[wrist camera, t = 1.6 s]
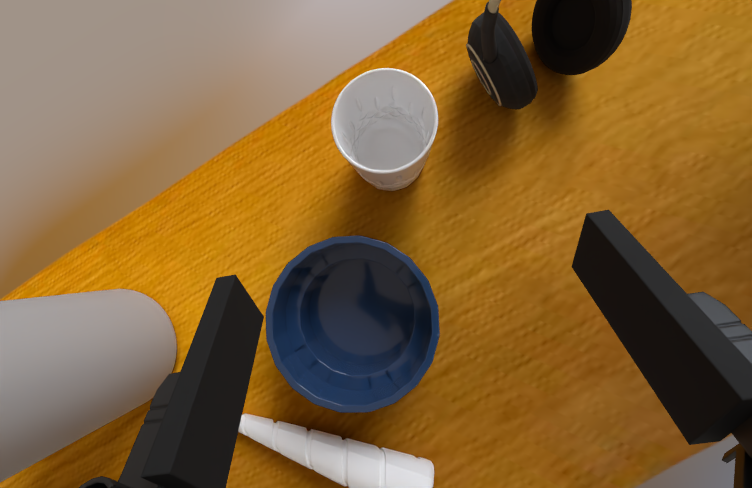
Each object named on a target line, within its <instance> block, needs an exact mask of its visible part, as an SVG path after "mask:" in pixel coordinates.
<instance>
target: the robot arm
mask: <svg viewBox="0 0 752 488" xmlns="http://www.w3.org/2000/svg"><path fill="white" fill-rule="evenodd" d="M572 268H573V269H574V271H575V273H576V274H577V276H578V277H579V279H580V280H581V282H582V283H583V285H584V286H585V288H586V289H587V291H588V292H589V294H590V295H591V297H592V298H593V300H594V301H595V303H596V304H597V306H598V307H599V309H600V310H601V312H602V313H603V315H604V316H605V318H606V319H607V321H608V322H609V324H610V325H611V327H612V328H613V330H614V332H615V333H616V335H617V336H618V338H619V339H620V341H621V342H622V344H623V345H624V347H625V348H626V350H627V351H628V353H629V354H630V356H631V357H632V359H633V360H634V362H635V363H636V365H637V366H638V368H639V369H640V371H641V372H642V374H643V375H644V377H645V378H646V380H647V381H648V383H649V384H650V386H651V387H652V389H653V390H654V392H655V394H656V395H657V397H658V398H659V400H660V401H661V403H662V404H663V406H664V407H665V409H666V410H667V412H668V413H669V415H670V416H671V418H672V419H673V421H674V422H675V424H676V425H677V427H678V428H679V430H680V431H681V433H682V434H683V436H684V437H685V439H686V440H687V442H688V443H689V445H692V444H700V443H708V442H717V441H721V440H722V439H723V438H725V437H726V436H727V435H729V434H730V433H732V434H733V435H734V437H735V438H736V439H737V441H738V442H739V444H738V445H736V446H735V447H733V448H732V449H730V450H729V451H727V452H726V453H725V454H724V456H723V459H722V461H724V462H726V463H728V462H730V461H731V460H733V459H734V458H736V459H735V474H734V488H752V331H751V330H750V329H749V328H748V327H747V326H746V325H745V324H742V323H741V320H740V319H739V318H738V317H737V316H736V315H735V314H734V313H733V312H732V311H731V310H730V309H729V308H728V307H727V306H726V305H725V304H723V303H721V302H720V301H718V300H716V299H715V298H713V297H711V296H710V295H708V294H706V293H705V292H698V293H692V294H686V292H685V291H684V290H683V289H682V288H681V287H680V286H679V285H678V284H677V283H676V282H675V281H674V280H673V278H672V277H671V276H670V275H669V274H668V273H667V272H666V271H665V270H664V269H663V268H662V267H661V266H660V265H659V263H658V262H657V261H656V260H655V259H654V258H653V257H652V256H651V255H650V254H649V253H648V252H647V251H646V249H645V248H644V247H643V246H642V245H641V244H640V243H639V242H638V241H637V240H636V239H635V238H634V237H633V235H632V234H631V233H630V232H629V231H628V230H627V229H626V228H625V227H624V226H623V225H622V224H621V223H620V221H619V220H618V219H617V218H616V217H615V216H614V215H613V214H612V213H611V212H610V211H609V210H605V211H599V212H593V213H588V214H586V217H585V220H584V224H583V228H582V231H581V235H580V238H579V242H578V246H577V249H576V253H575V257H574V260H573V264H572ZM263 318H264V316H263V315H262V314H261V312H260V311H259V309H258V308H257V306H256V305H255V303H254V302H253V300H252V299H251V297H250V296H249V294H248V293H247V291H246V290H245V288H244V287H243V285H242V284H241V282H240V281H239V279H238V278H237V276H236V275H231V276H225V277H219V278H216V281H215V284H214V286H213V289H212V291H211V294H210V297H209V299H208V302H207V304H206V307H205V310H204V312H203V315H202V318H201V320H200V323H199V325H198V328H197V331H196V333H195V336H194V338H193V341H192V344H191V346H190V349H189V351H188V354H187V357H186V359H185V362H184V364H183V367H182V370H181V372H178V373H172V374H169V375H168V376H167V377H166V378H165V380H164V381H163V382H162V384H161V385H160V386H159V388H158V389H157V391H156V393H155V395H154V398H153V400H152V403H151V405H150V410H149V411H148V412H147V414H146V417H145V419H144V424H143V425H142V426H141V429H140V431H139V434H138V436H137V438H136V441H135V443H134V445H133V448H132V450H131V453H130V455H129V457H128V460H127V462H126V464H125V467H124V469H123V472H122V474H121V476H120V478H119V480H118V482H117V481H115V480H112V479H110V478H106V477H103V476H101V477H97V478H93V479H91V480H89V481H88V482H86V483H84V484H83V485H81V486H80V487H79V488H226V483H227V479H228V474H229V470H230V465H231V461H232V456H233V452H234V448H235V443H236V439H237V434H238V430H239V425H240V421H241V416H242V412H243V407H244V403H245V398H246V394H247V389H248V385H249V380H250V376H251V371H252V367H253V362H254V358H255V353H256V349H257V345H258V340H259V336H260V331H261V327H262V322H263Z"/></svg>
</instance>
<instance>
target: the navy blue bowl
mask: <svg viewBox="0 0 752 488" xmlns="http://www.w3.org/2000/svg"><path fill="white" fill-rule="evenodd" d="M439 334H440V331H439V313H438V305H437V302H436V299H435V297H434V294H433V292H432V289H431V287H430V284H429V281H428V280H427V278H426V277H425V276H424V274H423V273H422V272H421V271H420V269H419V268H418V267H417V266H416V264H415V263H414V262H413V261H412V259H411V258H410V257H408V256H407V255H405V254H404V253H402V252H400V251H399V250H397V249H396V248H394V247H393V246H391V245H390V244H388V243H386V242H383V241H379V240H375V239H372V238H368V237H364V236H341V237H332V238H329V239H327V240H324V241H322V242H319V243H316V244H314V245H311V246H309V247H307V248H306V249H305V250H304V251H302V252H301V253H300V254H299V255H297V256H296V257H295V258H294V259H293V260H291V261H290V262H289V263H288V264H287V265H286V267H285V268H284V270H283V271H282V273H281V274H280V276H279V277H278V279H277V281H276V282H275V284H274V285H273V288H272V291H271V295H270V299H269V302H268V306H267V309H266V336H267V342H268V345H269V348H270V351H271V354H272V357H273V360H274V363H275V365H276V367H277V368H278V370H279V371H280V372H281V374H282V375H283V376H284V378H285V379H286V380H287V382H288V383H289V385H290V386H291V387H292V388H293V389H294V390H296V391H297V392H298V393H300V394H301V395H302V396H304V397H305V398H307V399H308V400H309V401H311V402H312V403H313V404H316V405H319V406H322V407H325V408H328V409H331V410H334V411H337V412H371V411H374V410H377V409H379V408H382V407H385V406H388V405H391V404H394V403H396V402H397V401H398V400H399V399H401V398H402V397H403V396H405V395H406V394H407V393H408V392H410V391H411V390H412V389H414V388H415V387H416V386H417V385H418V383H419V382H420V380H421V379H422V377H423V376H424V374H425V373H426V371H427V370H428V368H429V367H430V365H431V364H432V362H433V358H434V354H435V351H436V347H437V343H438V339H439Z"/></svg>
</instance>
